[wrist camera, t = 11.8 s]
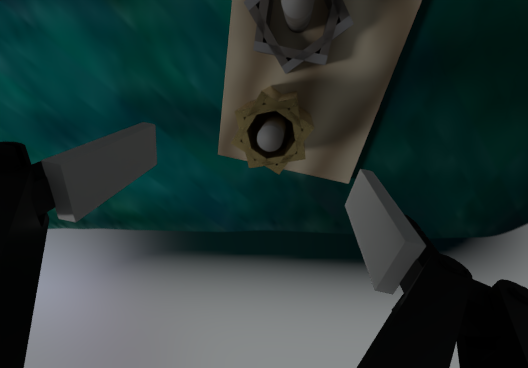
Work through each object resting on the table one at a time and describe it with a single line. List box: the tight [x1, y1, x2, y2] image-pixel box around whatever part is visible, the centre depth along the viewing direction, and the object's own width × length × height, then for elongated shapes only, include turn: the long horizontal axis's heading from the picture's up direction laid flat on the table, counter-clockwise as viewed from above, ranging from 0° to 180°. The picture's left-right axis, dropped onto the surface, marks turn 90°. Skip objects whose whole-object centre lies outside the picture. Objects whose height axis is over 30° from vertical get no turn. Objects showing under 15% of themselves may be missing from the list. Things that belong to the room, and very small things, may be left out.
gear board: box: [218, 0, 422, 183], centre depth 23 cm, size 18×22×10 cm
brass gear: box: [231, 86, 314, 174], centre depth 25 cm, size 8×8×7 cm
